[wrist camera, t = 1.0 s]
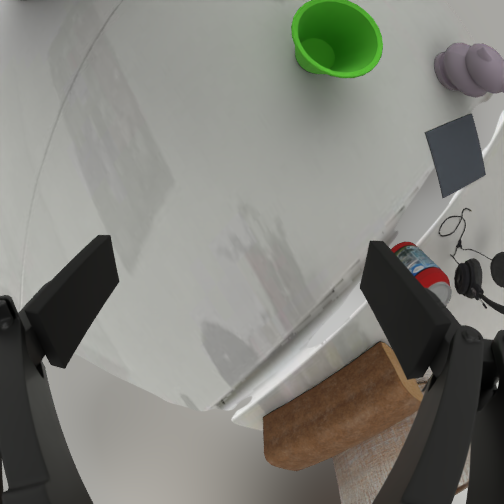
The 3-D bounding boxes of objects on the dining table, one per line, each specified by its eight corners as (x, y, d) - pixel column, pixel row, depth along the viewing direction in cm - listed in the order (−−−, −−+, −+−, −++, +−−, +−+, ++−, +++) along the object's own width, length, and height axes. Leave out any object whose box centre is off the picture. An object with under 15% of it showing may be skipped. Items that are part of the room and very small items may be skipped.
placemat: (424, 132, 33) (425, 132, 33) (471, 113, 31) (471, 113, 31) (442, 197, 38) (443, 198, 38) (485, 174, 36) (485, 174, 35)
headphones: (494, 205, 38) (569, 255, 20) (484, 259, 43) (545, 318, 25) (437, 210, 39) (520, 272, 21) (429, 271, 44) (491, 346, 26)
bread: (260, 415, 61) (261, 466, 48) (380, 337, 50) (406, 393, 37) (298, 430, 65) (303, 475, 53) (408, 362, 54) (431, 410, 42)
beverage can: (421, 240, 41) (461, 277, 30) (411, 276, 44) (445, 318, 33) (387, 238, 41) (424, 279, 30) (378, 276, 44) (408, 322, 33)
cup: (361, 57, 29) (399, 41, 19) (320, 101, 32) (347, 96, 23) (308, 14, 27) (330, -18, 17) (265, 57, 30) (271, 34, 20)
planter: (336, 455, 76) (349, 535, 47) (317, 409, 61) (337, 530, 32) (435, 418, 71) (463, 491, 42) (452, 357, 55) (505, 457, 26)
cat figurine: (474, 78, 28) (526, 79, 18) (455, 106, 31) (508, 113, 20) (442, 37, 26) (492, 26, 15) (421, 64, 29) (473, 57, 18)
